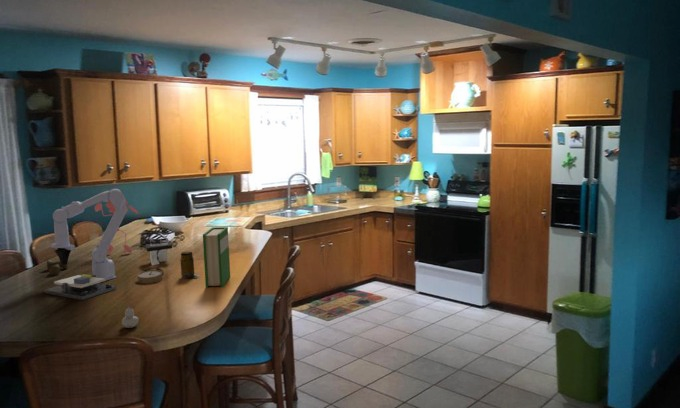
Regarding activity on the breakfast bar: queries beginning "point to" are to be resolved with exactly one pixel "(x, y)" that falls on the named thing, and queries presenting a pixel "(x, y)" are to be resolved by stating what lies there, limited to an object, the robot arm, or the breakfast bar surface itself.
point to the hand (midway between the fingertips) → (64, 264)
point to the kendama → (55, 267)
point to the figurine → (112, 209)
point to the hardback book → (216, 256)
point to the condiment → (187, 266)
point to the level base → (80, 290)
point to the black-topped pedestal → (158, 251)
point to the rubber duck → (129, 318)
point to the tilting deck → (71, 281)
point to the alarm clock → (150, 275)
